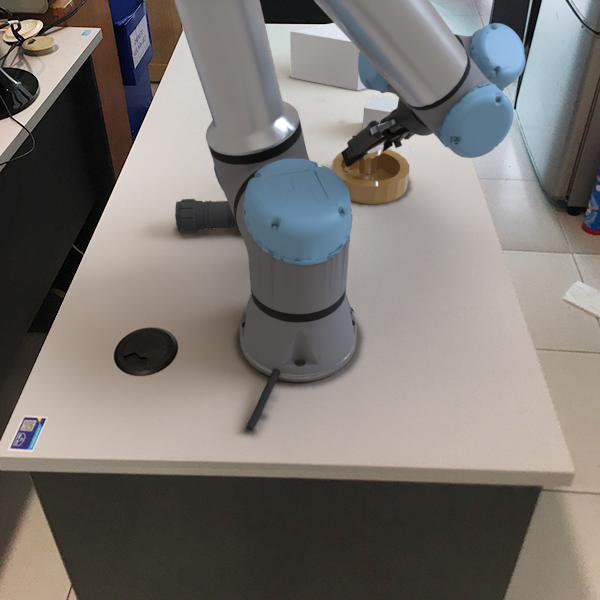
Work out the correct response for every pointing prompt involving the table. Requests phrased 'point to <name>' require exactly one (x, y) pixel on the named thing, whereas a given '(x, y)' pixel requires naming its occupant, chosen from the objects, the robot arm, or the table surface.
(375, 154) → the milkshake
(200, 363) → the table surface
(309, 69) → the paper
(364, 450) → the table surface
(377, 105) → the white cube
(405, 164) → the tan round shallow bowl
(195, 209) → the flashlight
